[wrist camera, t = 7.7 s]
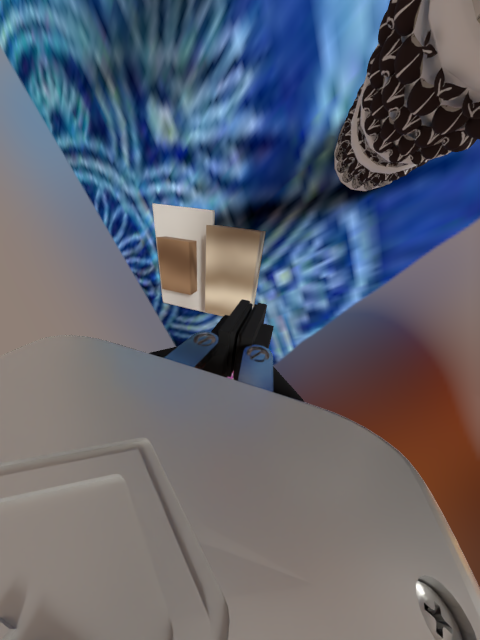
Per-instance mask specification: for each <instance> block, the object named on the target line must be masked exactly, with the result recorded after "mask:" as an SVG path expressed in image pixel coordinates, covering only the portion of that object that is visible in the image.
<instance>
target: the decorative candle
mask: <svg viewBox="0 0 480 640" xmlns="http://www.w3.org/2000/svg"><path fill="white" fill-rule="evenodd" d="M378 42H379V44H378V46H377V47H376V49H375V51H374V52H373V54H372V56H371V58H370V61H369V63H368V68H367V76H366V79H365V82H364V84H363V85H362V86H361V88H360V89H359V91H358V94H357V98H356V99H355V101H354V103H353V106H352V107H351V108H350V110H349V113H348V117H347V118H346V120H345V124H344V125H343V127H342V129H341V132H340V134H339V137H338V142H337V145H336V149H335V152H334V162H335V171H336V173H337V175H338V177H339V180H340V182H342V183H343V184H344V185H346V186H347V187H348V188H350V189H352V190H359V191H368V190H371V189H375V188H378V187H383V186H385V185H386V184H390V183H392V181H393V180H397V179H399V178H400V177H403V176H406V175H407V174H408V173H409V172H410V171H412V170H414V169H415V168H417V167H419V166H422V165H424V164H425V163H427V162H428V161H429V160H430V159H433V158H437V157H440V156H443V155H446V154H448V153H449V152H451V151H452V152H459V151H463V150H465V149H467V148H469V147H471V146H472V145H473V144H474V142H475V141H476V140H477V139H480V0H390V3H389V7H388V10H387V12H386V13H385V15H384V17H383V20H382V22H381V25H380V29H379V35H378Z"/></svg>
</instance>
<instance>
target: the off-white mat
mask: <svg viewBox="0 0 480 640" xmlns="http://www.w3.org/2000/svg"><path fill="white" fill-rule="evenodd" d="M153 213H154V223H155V232H156V237H164V236H167V237H174V238H180V239H187V240H194V241H197V291H196V292H195V293H193V294H191V295H188V294H183V293H179V292H174V291H170V290H165V289H162V297H163V302H164V303H168V304H172V305H176V306H180V307H185V308H189V309H193V310H197V311H201V312H205V284H206V225H214V220H215V211H214V210H206V209H197V208H188V207H179V206H170V205H161V204H153ZM156 241H157V238H156ZM157 250H158V247H157ZM158 260H159V256H158ZM159 269H160V265H159ZM160 278H161V274H160ZM161 287H162V283H161ZM206 313H207V312H206Z"/></svg>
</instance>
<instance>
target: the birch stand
mask: <svg viewBox="0 0 480 640" xmlns="http://www.w3.org/2000/svg"><path fill="white" fill-rule="evenodd" d="M265 232H266V231H258V230H251V229H243V228H235V227H227V226H219V225H206V284H205V312H207V313H211V314H216V315H220V316H224V315H229V316H230V314H231V313H232V312H233V310H234V309H235V308H236V306H237V305H238V304H239V302H240V301H241V300H242V299H243V300H248V301H250V303H251V304H253V306H252V309H253V307H254V303H255V297H256V290H257V284H258V277H259V271H260V264H261V258H262V251H263V245H264V238H265Z"/></svg>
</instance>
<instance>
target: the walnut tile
mask: <svg viewBox="0 0 480 640" xmlns="http://www.w3.org/2000/svg"><path fill="white" fill-rule="evenodd" d="M156 238H157V247H158V256H159V265H160V274H161V283H162V289H165V290H170V291H174V292H179V293H183V294H188V295H191V294H193V293H195V292H196V291H197V241H194V240H187V239H180V238H174V237H167V236H164V237H156Z"/></svg>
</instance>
